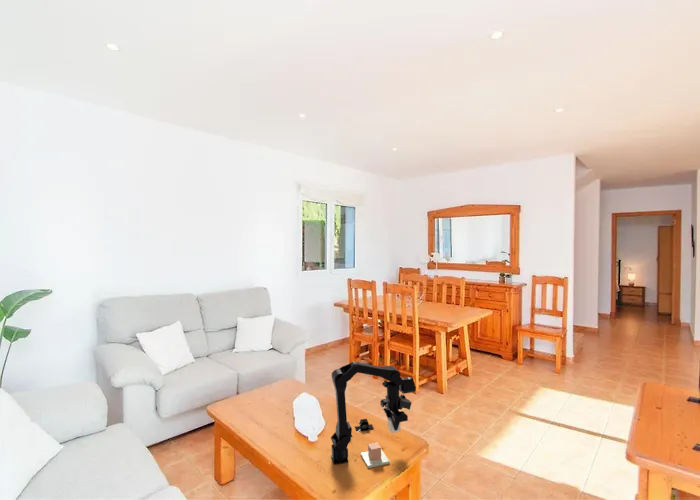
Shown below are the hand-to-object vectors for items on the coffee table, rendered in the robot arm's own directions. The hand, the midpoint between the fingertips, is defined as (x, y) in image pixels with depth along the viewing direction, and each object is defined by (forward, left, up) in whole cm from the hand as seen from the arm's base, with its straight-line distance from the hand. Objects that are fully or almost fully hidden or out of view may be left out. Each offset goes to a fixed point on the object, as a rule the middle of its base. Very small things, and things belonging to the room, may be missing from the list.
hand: (393, 427), depth 170 cm
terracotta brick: (-11, -4, -9) cm, 15 cm away
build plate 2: (-7, +23, -11) cm, 26 cm away
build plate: (-11, -4, -10) cm, 16 cm away
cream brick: (0, 0, -1) cm, 1 cm away
